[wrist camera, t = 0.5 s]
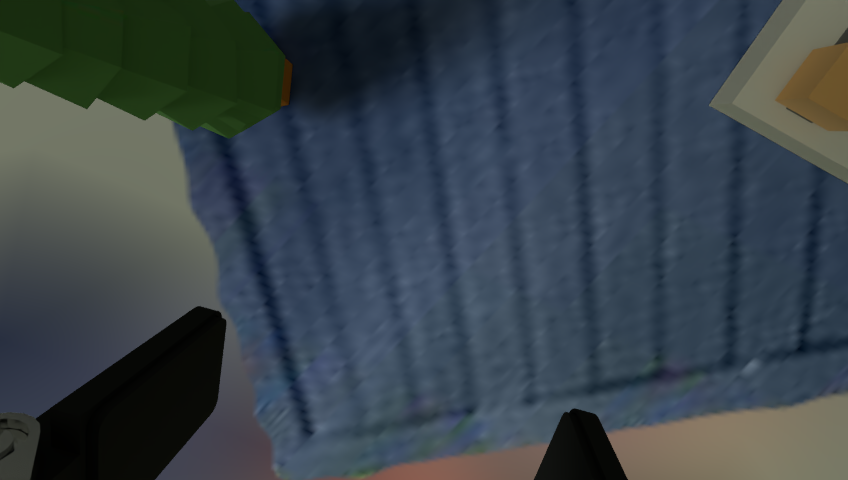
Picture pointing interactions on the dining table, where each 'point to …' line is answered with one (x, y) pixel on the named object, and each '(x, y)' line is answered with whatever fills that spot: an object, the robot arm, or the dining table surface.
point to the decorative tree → (148, 58)
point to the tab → (821, 88)
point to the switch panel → (771, 71)
